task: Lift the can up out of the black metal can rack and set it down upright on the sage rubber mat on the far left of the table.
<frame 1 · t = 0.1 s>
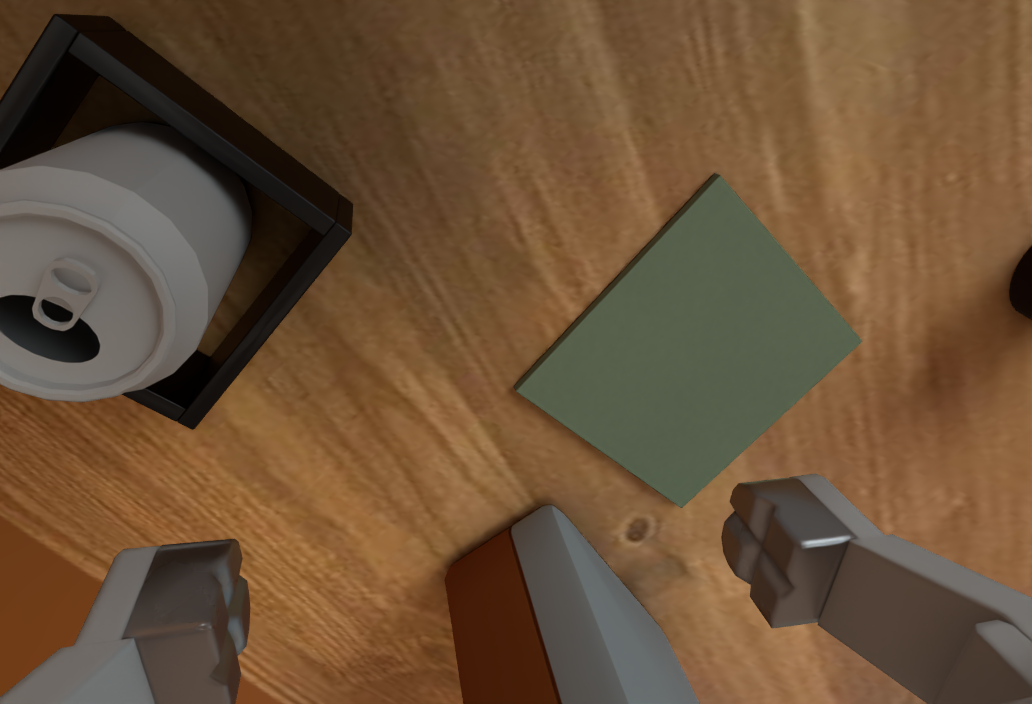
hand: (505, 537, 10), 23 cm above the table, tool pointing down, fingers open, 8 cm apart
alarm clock: (559, 595, 46), on the table
mat: (693, 360, 38), on the table
can rack: (169, 220, 28), on the table
can: (167, 206, 28), resting in can rack
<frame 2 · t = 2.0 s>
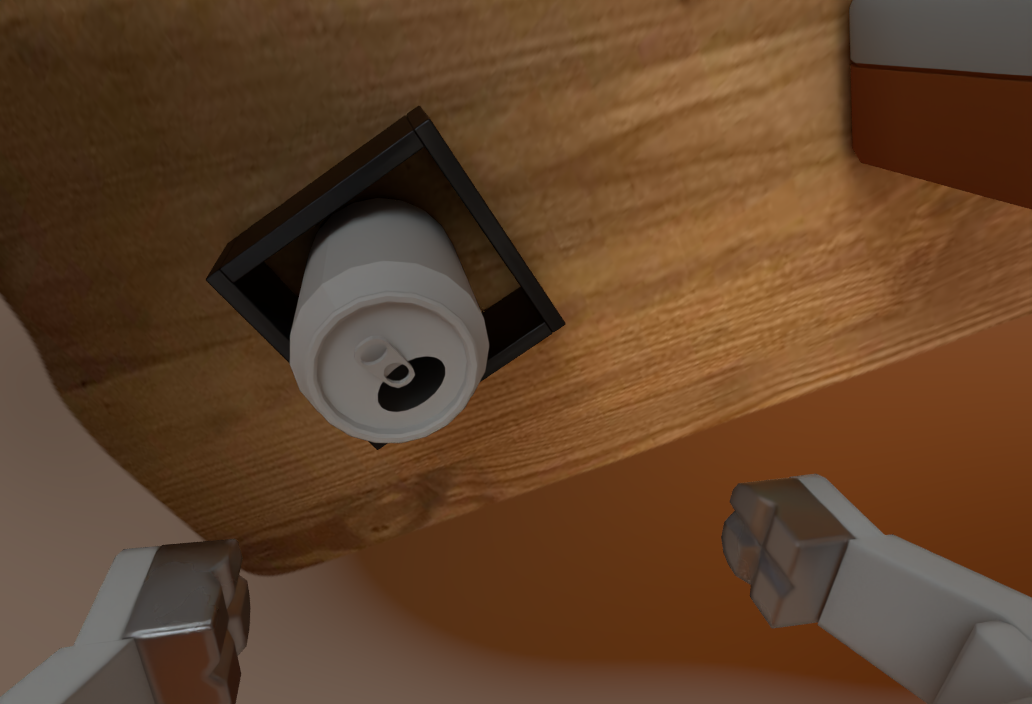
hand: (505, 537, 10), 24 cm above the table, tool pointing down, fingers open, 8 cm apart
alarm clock: (988, 26, 34), on the table
can rack: (395, 267, 33), on the table
can: (383, 264, 33), resting in can rack
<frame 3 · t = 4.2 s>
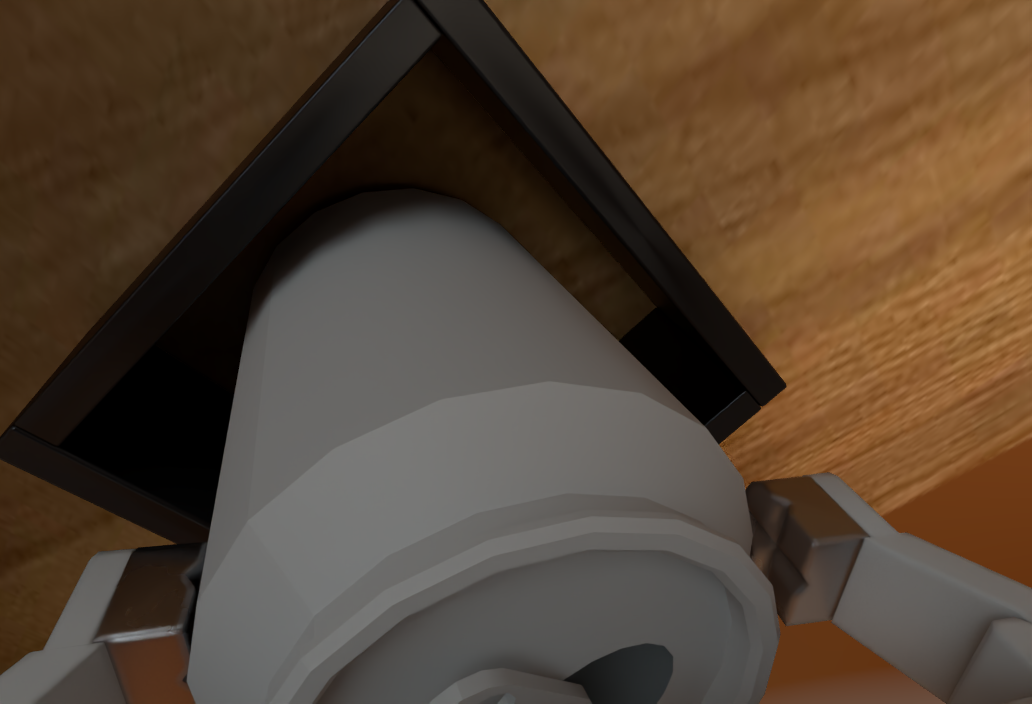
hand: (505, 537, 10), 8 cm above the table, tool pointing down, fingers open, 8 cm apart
can rack: (420, 317, 17), on the table
can: (398, 317, 17), resting in can rack, touching gripper
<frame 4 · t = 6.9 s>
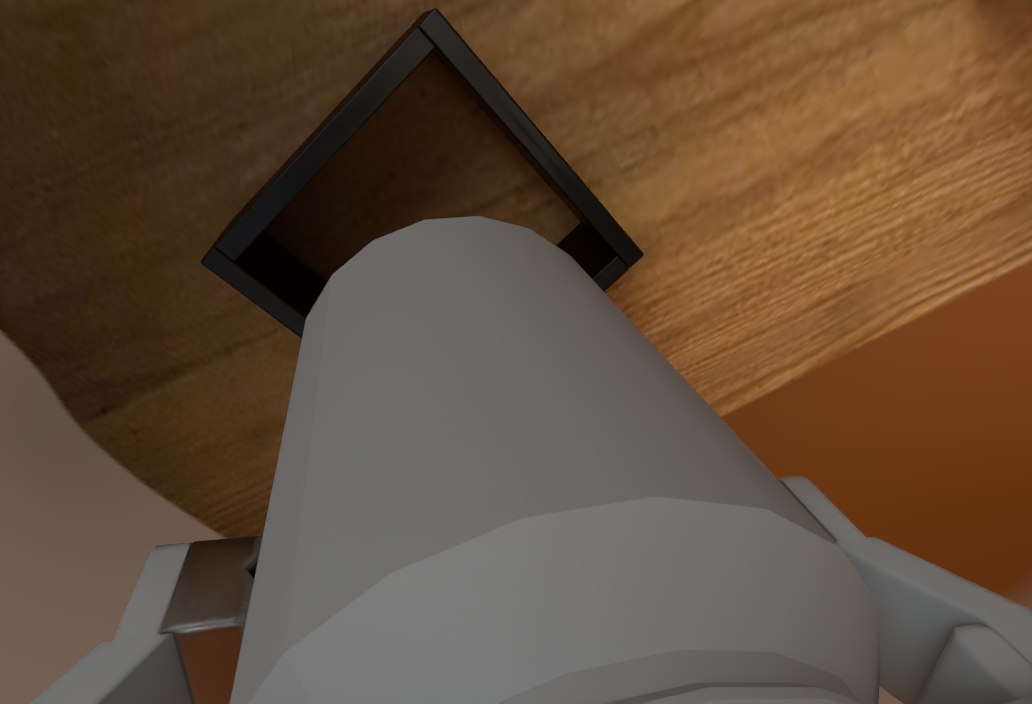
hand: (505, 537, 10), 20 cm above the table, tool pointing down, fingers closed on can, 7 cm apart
can rack: (427, 223, 28), on the table
can: (455, 349, 16), point 13 cm above the table, touching gripper
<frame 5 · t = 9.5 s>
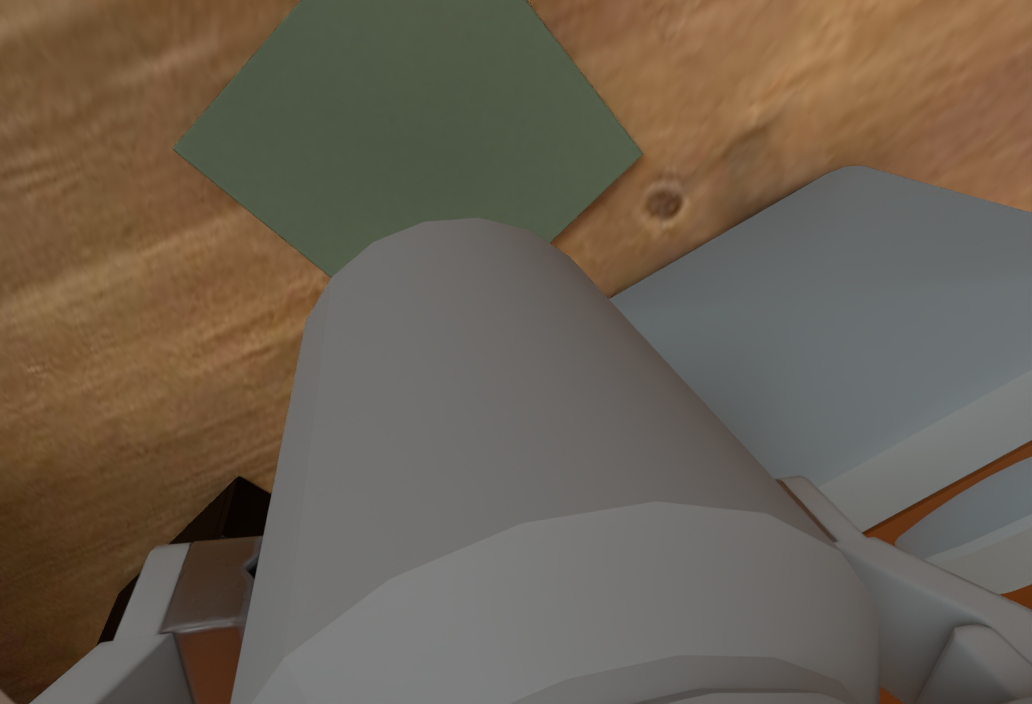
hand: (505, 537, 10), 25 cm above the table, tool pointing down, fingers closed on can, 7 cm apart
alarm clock: (726, 294, 39), on the table
mat: (425, 149, 31), on the table
can rack: (258, 576, 41), on the table
can: (455, 350, 16), point 18 cm above the table, touching gripper
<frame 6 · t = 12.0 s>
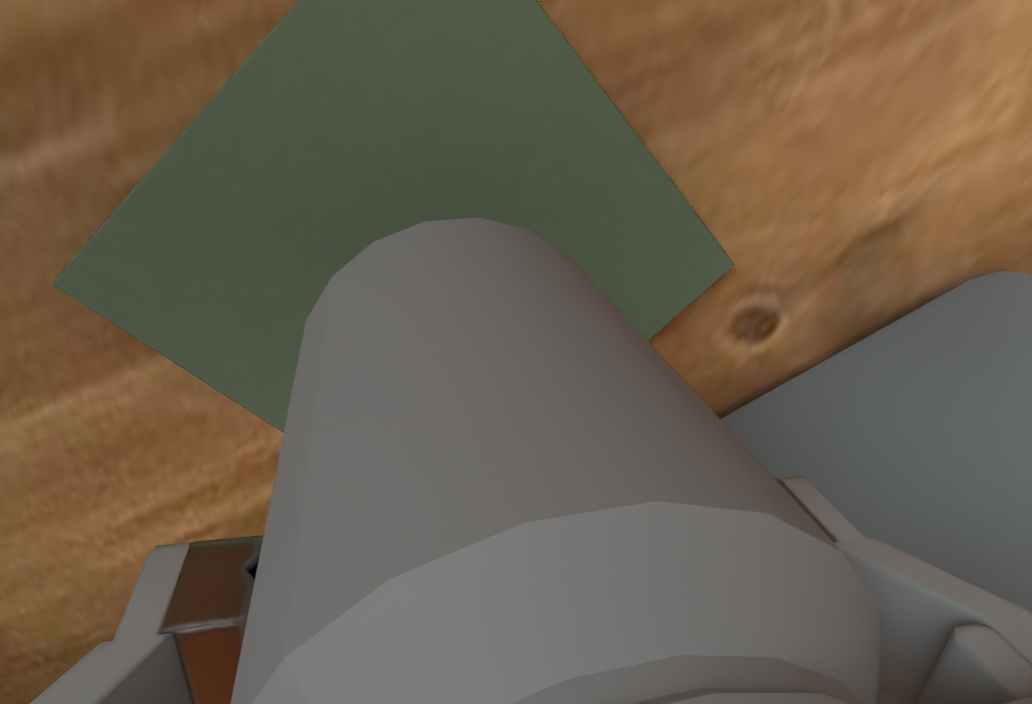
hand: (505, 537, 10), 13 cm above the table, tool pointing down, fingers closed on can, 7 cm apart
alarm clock: (824, 427, 29), on the table
mat: (430, 267, 22), on the table
can: (455, 350, 16), point 6 cm above the table, touching gripper
when the fingers open (7 cm above the table, at t = 14.1 s): can stays where it is, resting on mat.
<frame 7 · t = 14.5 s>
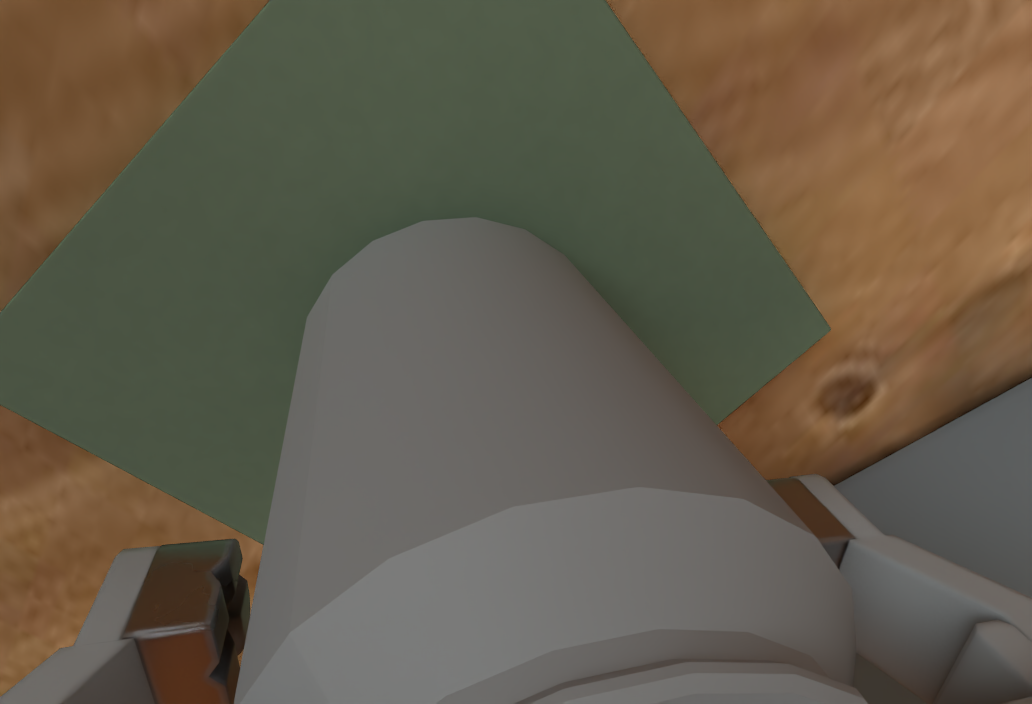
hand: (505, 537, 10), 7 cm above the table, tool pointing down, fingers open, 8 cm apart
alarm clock: (915, 508, 25), on the table
mat: (451, 339, 17), on the table
can: (453, 347, 16), resting on mat
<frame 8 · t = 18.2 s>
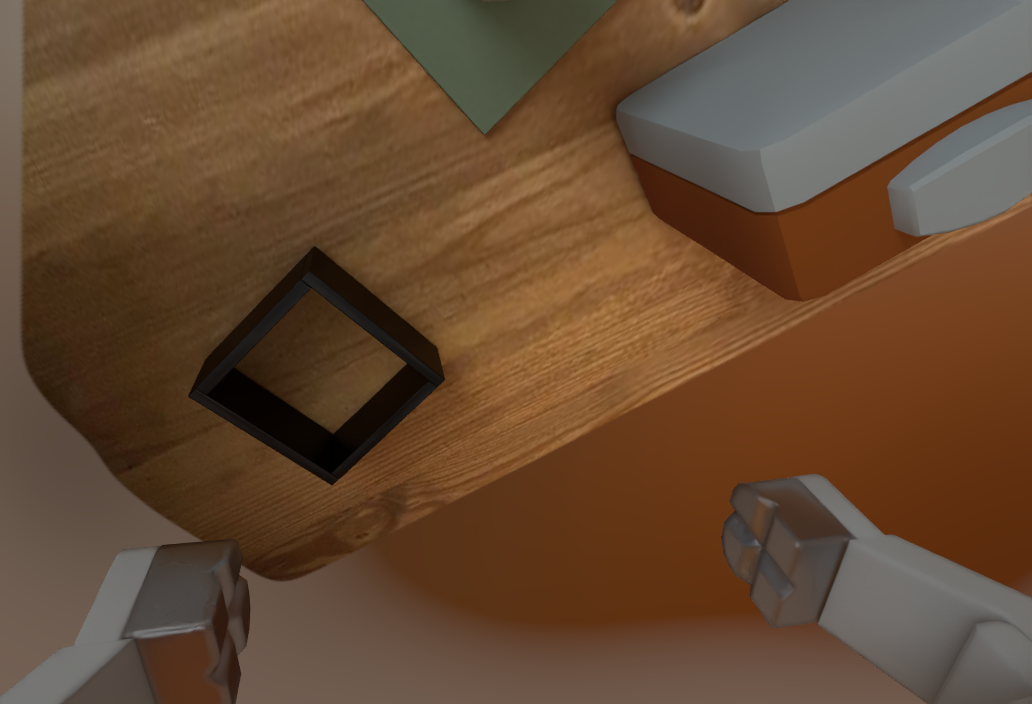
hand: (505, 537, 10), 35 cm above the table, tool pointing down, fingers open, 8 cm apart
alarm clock: (741, 96, 44), on the table
can rack: (325, 353, 46), on the table
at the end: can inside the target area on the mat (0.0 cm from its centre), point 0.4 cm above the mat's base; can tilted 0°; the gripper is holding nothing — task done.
